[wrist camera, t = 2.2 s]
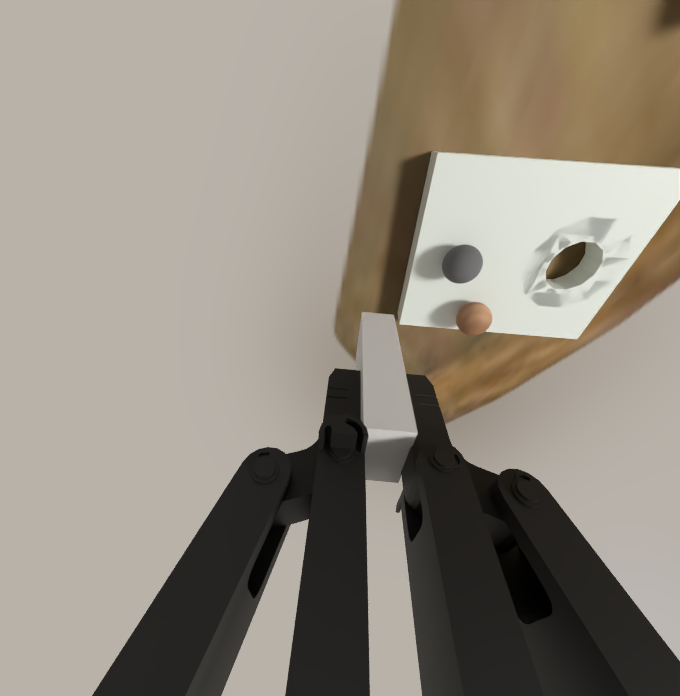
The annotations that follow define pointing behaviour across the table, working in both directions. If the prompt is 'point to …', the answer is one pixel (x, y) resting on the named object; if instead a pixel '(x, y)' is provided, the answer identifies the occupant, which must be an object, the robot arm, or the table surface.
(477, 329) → the wood ball
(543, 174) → the plate
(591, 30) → the table surface
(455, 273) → the ball
